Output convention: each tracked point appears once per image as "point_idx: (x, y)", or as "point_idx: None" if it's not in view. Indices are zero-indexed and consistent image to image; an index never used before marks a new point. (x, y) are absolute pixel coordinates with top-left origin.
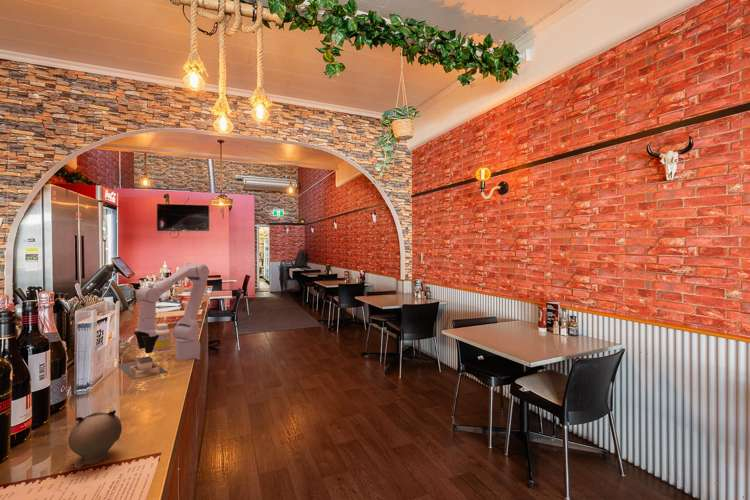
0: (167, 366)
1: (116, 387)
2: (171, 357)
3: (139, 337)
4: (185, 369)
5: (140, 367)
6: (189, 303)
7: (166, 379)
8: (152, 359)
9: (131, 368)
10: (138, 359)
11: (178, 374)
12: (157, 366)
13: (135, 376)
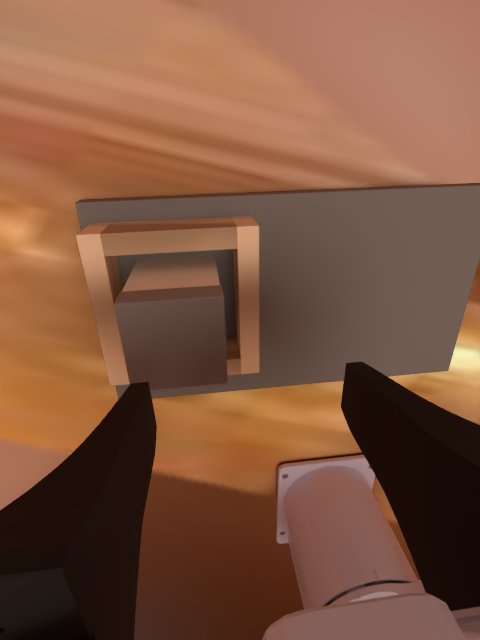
0: (273, 415)
1: (26, 66)
2: None
3: (431, 461)
4: (162, 468)
5: (130, 280)
6: None
7: (38, 369)
8: None
9: (213, 227)
10: (185, 297)
11: None
12: None
13: (104, 225)
